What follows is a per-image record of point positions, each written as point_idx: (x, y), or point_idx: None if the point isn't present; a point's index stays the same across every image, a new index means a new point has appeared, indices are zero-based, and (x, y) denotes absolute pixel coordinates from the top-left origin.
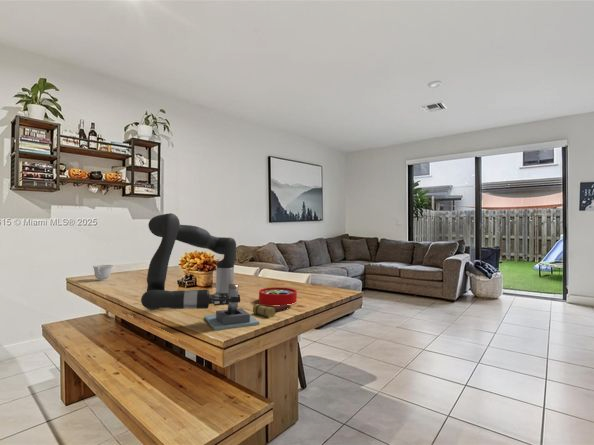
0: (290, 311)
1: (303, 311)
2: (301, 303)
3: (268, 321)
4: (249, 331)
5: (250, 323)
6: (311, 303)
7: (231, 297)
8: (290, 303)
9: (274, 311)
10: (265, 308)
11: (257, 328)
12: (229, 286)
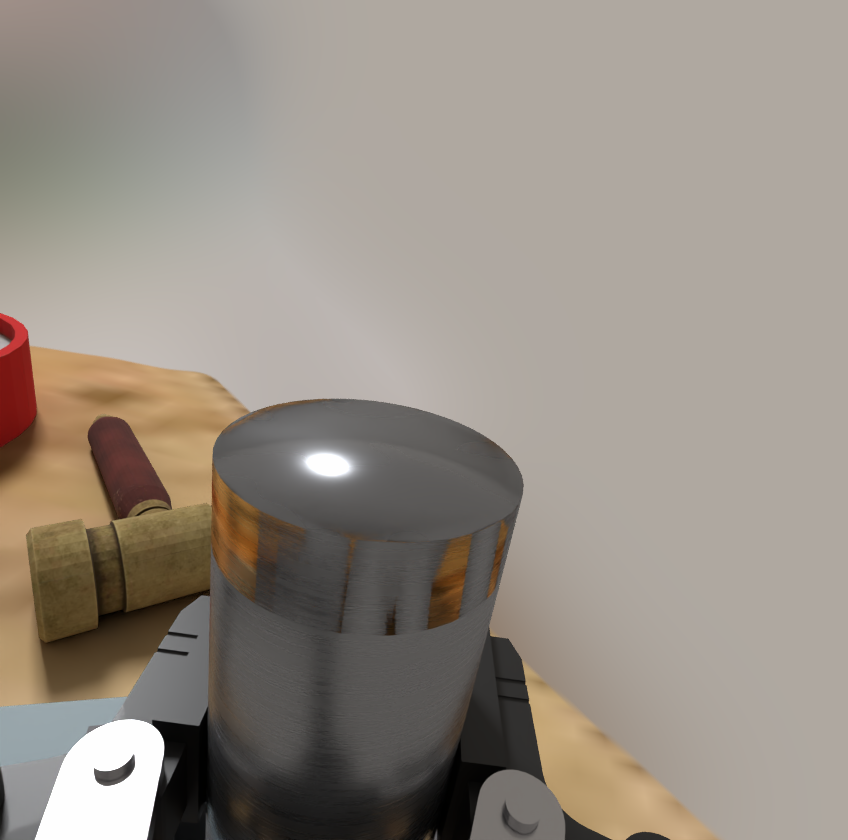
0: (192, 452)
1: None
2: (58, 379)
3: None
4: (691, 827)
5: None
6: (102, 363)
7: (502, 760)
8: (35, 401)
9: None
10: None
11: (580, 730)
12: (468, 557)
